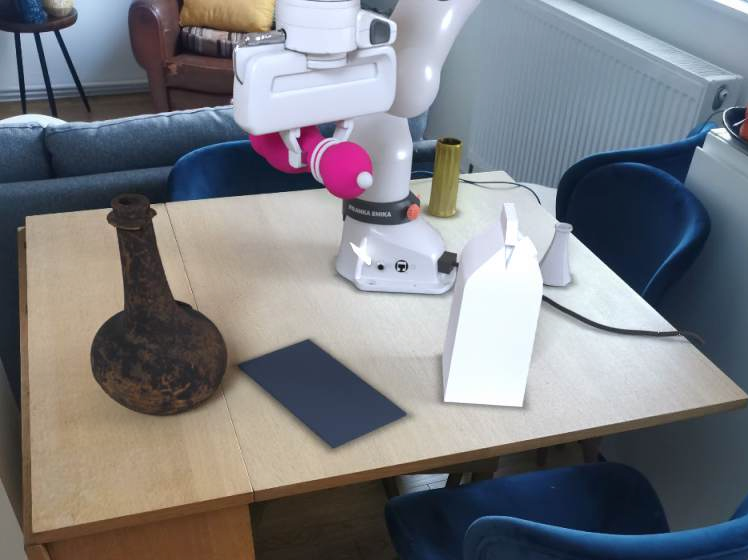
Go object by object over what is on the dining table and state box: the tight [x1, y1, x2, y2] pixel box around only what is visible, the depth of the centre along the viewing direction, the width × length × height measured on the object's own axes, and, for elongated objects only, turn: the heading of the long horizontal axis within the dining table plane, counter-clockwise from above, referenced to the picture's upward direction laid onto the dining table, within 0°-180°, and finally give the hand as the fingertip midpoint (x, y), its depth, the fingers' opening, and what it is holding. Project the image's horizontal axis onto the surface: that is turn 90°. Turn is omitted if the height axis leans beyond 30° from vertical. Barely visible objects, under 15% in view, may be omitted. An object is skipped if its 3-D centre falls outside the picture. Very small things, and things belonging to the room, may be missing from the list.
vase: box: [427, 136, 464, 218], centre depth 156 cm, size 6×6×14 cm
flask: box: [538, 222, 574, 287], centre depth 138 cm, size 7×7×10 cm
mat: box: [237, 338, 407, 449], centre depth 111 cm, size 24×13×1 cm, turn 39°
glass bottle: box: [89, 193, 228, 417], centre depth 98 cm, size 18×18×28 cm
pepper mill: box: [248, 125, 373, 200], centre depth 89 cm, size 7×7×20 cm
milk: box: [441, 202, 544, 408], centre depth 106 cm, size 12×12×26 cm
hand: (317, 161), depth 89 cm, fingers closed on pepper mill, 4 cm apart
